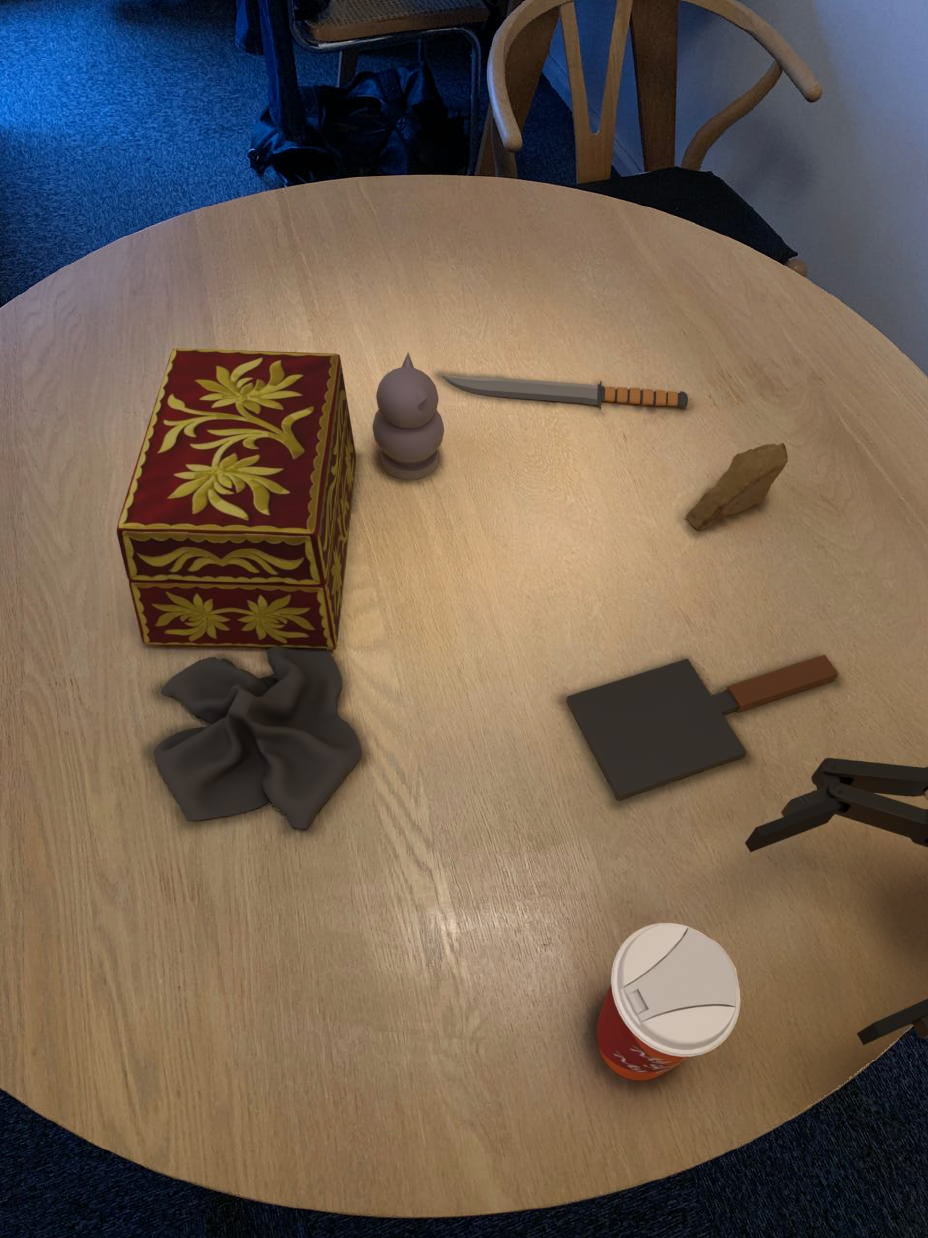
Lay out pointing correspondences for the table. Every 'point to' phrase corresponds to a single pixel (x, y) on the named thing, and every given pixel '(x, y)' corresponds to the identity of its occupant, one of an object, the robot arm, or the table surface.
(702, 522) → the rock
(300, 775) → the cloth
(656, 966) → the coffee cup
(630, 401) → the knife
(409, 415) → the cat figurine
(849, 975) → the table surface
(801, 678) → the spatula
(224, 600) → the decorative box
